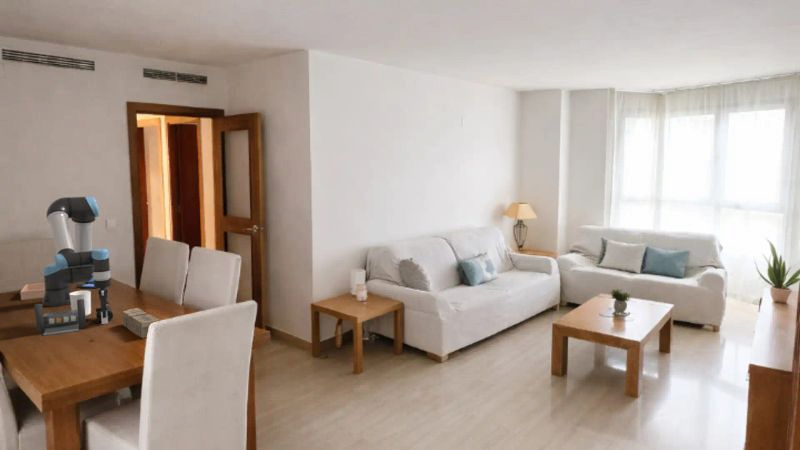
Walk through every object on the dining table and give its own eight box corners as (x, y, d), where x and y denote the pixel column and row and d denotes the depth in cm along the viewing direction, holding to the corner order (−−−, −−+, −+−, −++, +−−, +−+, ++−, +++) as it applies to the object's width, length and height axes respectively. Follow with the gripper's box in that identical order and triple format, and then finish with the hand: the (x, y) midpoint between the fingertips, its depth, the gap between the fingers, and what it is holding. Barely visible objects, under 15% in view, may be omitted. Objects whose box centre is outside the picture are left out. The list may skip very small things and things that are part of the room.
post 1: (37, 332, 242) (34, 304, 241) (44, 331, 244) (42, 303, 242) (36, 334, 240) (33, 305, 238) (44, 333, 241) (41, 304, 240)
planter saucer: (26, 292, 319) (25, 284, 319) (64, 288, 329) (63, 281, 329) (21, 300, 301) (20, 291, 301) (61, 295, 311) (60, 287, 310)
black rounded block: (113, 322, 259) (112, 309, 258) (97, 324, 255) (96, 311, 254) (112, 317, 267) (111, 304, 266) (96, 319, 263) (95, 306, 262)
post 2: (79, 327, 251) (77, 299, 249) (86, 326, 252) (84, 298, 251) (78, 328, 248) (76, 300, 247) (86, 327, 250) (83, 300, 248)
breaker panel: (45, 325, 254) (44, 313, 253) (82, 320, 262) (81, 309, 261) (43, 329, 247) (42, 317, 247) (82, 324, 255) (81, 312, 254)
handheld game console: (75, 288, 330) (74, 274, 329) (90, 283, 343) (89, 270, 342) (97, 289, 328) (96, 275, 327) (111, 284, 341) (110, 271, 340)
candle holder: (82, 317, 266) (80, 295, 265) (66, 316, 268) (64, 294, 267) (96, 312, 276) (95, 290, 274) (81, 311, 278) (79, 290, 276)
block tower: (122, 327, 254) (142, 339, 233) (121, 310, 253) (141, 321, 232) (139, 323, 259) (160, 335, 239) (138, 307, 259) (159, 317, 238)
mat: (45, 329, 247) (45, 328, 247) (79, 324, 254) (79, 324, 254) (43, 335, 238) (43, 335, 238) (78, 331, 245) (78, 330, 245)
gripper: (94, 275, 267) (97, 315, 269) (92, 284, 246) (95, 327, 249) (110, 274, 271) (113, 313, 273) (110, 282, 250) (113, 325, 252)
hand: (105, 320), depth 261 cm, fingers open, 12 cm apart
